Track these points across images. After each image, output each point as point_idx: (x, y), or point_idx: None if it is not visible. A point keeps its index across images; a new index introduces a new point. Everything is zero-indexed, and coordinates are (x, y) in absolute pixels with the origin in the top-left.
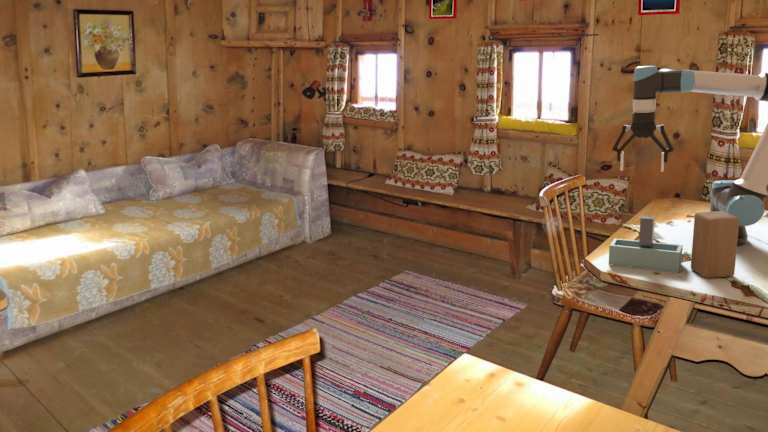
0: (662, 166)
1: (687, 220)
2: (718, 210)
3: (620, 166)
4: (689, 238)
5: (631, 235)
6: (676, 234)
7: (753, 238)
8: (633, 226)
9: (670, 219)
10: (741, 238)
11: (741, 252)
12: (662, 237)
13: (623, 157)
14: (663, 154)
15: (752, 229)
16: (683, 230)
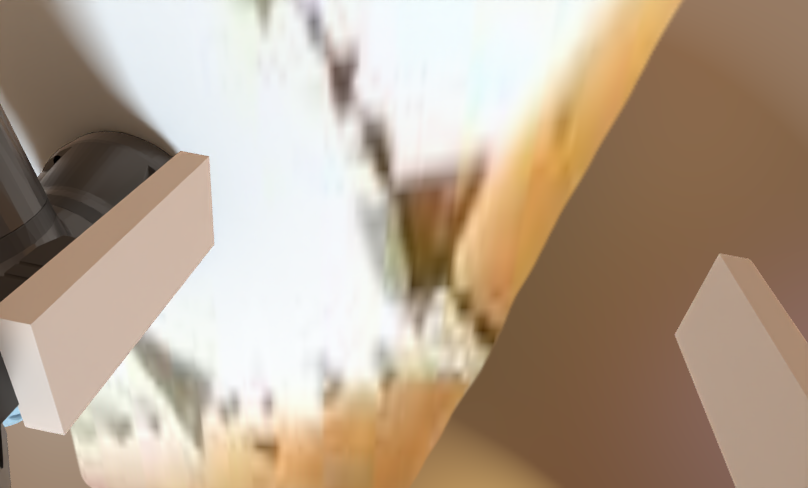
0: (152, 188)
1: (272, 412)
2: (56, 218)
3: (774, 298)
4: (257, 219)
5: (485, 243)
6: (305, 265)
7: None
8: (462, 353)
9: (326, 422)
10: (51, 158)
11: (50, 47)
12: (359, 224)
13: (744, 468)
14: (5, 303)
15: None
16: (282, 312)
